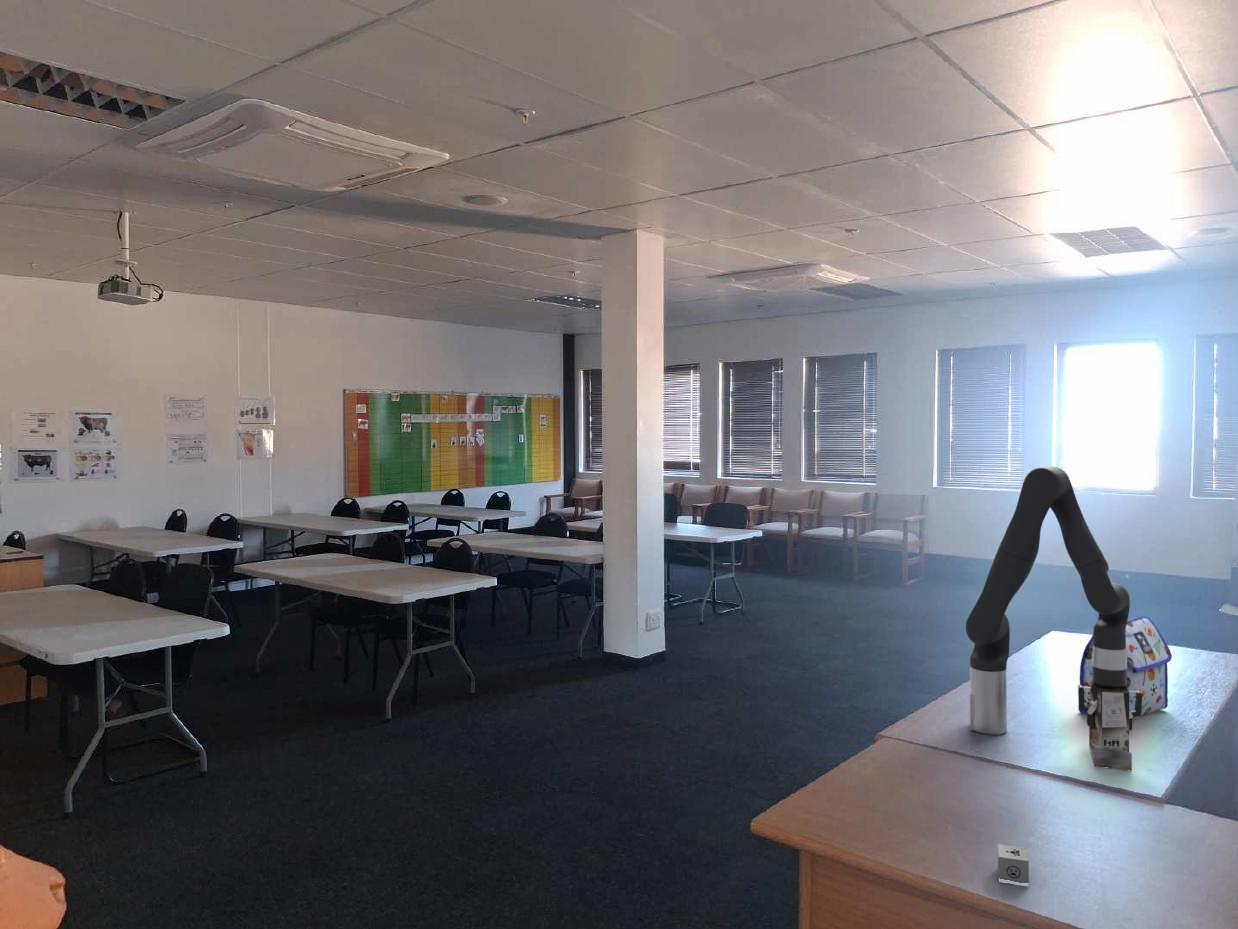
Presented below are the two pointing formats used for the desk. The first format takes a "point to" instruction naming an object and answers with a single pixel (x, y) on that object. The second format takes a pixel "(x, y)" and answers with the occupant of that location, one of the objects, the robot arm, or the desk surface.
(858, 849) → the desk surface
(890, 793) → the desk surface
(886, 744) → the desk surface
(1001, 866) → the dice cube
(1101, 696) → the coffee box
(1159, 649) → the lunch bag
